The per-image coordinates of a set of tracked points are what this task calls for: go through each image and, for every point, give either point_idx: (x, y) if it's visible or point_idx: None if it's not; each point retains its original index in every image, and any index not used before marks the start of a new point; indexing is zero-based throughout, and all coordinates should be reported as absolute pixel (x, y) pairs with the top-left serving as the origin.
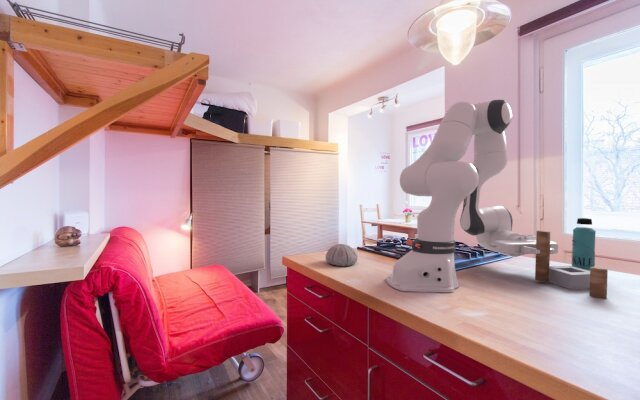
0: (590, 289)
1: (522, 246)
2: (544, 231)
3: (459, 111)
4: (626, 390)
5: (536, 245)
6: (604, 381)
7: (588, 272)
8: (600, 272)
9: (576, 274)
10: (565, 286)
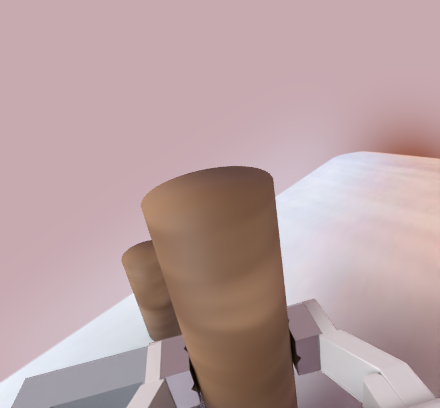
0: None
1: (428, 391)
2: (205, 183)
3: None
4: (339, 156)
5: (287, 319)
6: (349, 157)
7: (52, 395)
8: None
9: None
10: (196, 406)
